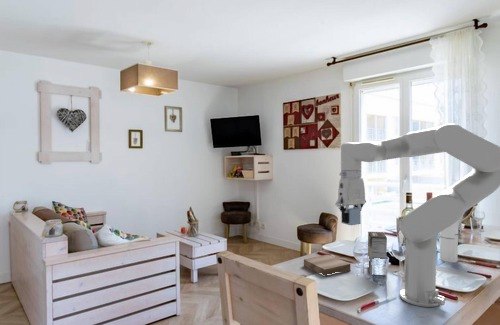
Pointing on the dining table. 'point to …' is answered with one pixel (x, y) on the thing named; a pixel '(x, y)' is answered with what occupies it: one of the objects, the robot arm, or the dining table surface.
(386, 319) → the dining table surface
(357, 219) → the slate block
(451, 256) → the cylindrical container
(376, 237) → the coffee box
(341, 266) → the walnut base
